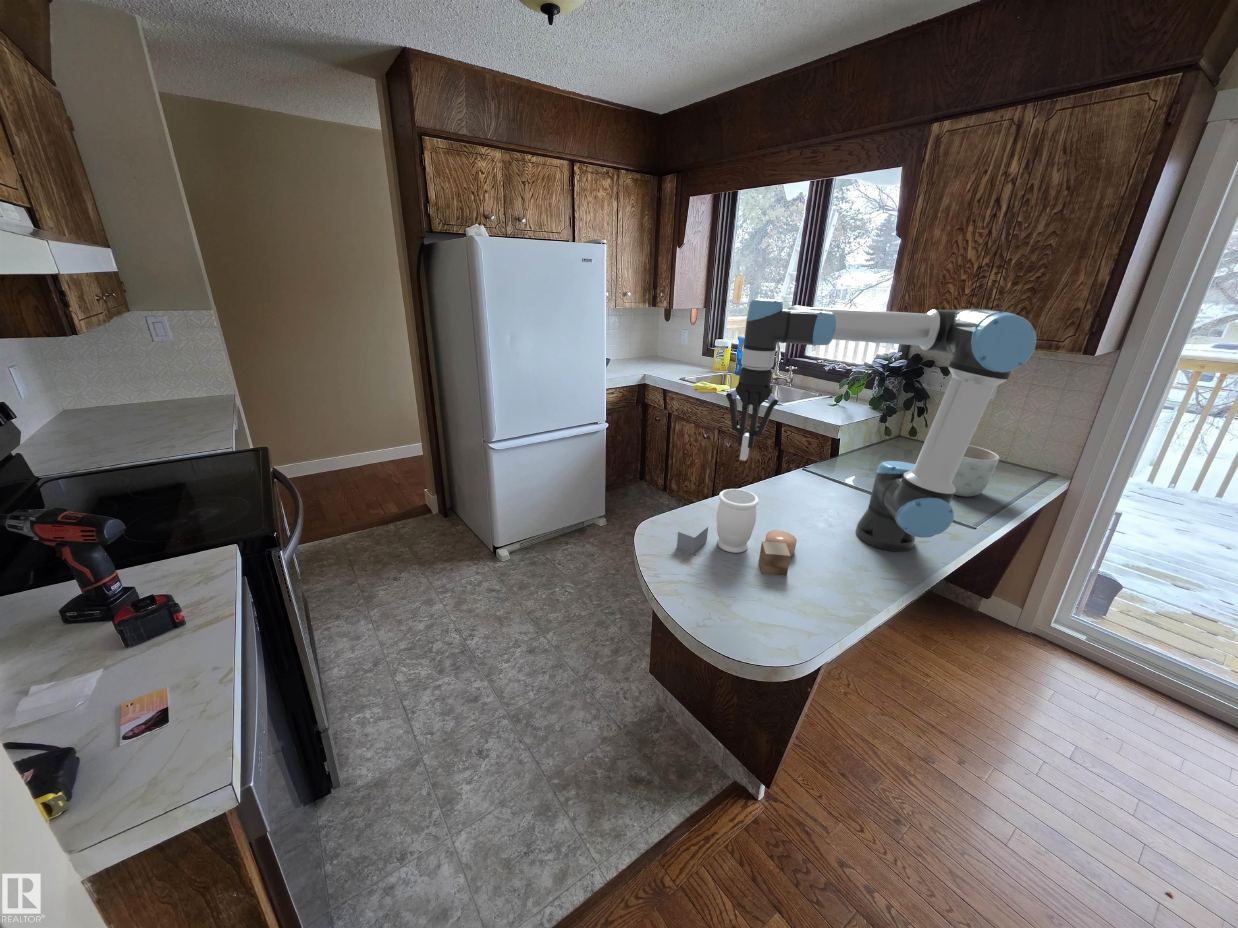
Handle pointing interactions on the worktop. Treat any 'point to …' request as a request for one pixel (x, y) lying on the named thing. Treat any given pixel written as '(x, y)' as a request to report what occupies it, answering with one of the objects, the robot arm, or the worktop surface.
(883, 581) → the worktop surface
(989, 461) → the planter
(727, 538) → the jar
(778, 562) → the walnut block
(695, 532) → the slate block
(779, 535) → the glossy peach dome
